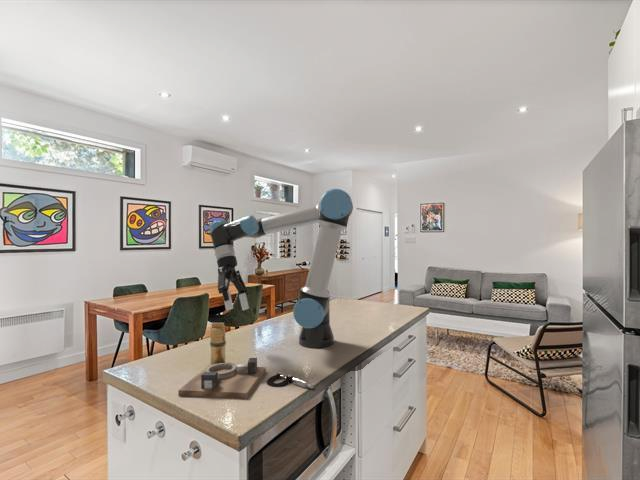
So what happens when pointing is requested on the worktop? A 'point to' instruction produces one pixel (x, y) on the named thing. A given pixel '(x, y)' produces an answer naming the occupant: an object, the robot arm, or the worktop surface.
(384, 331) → the worktop surface
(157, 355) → the worktop surface
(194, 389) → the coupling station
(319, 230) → the robot arm
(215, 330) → the coupling
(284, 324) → the worktop surface
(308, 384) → the micrometer
